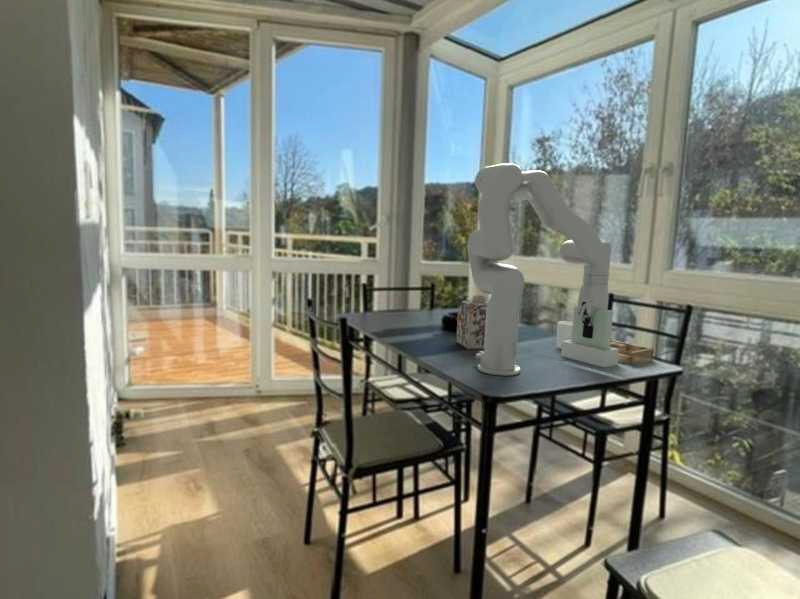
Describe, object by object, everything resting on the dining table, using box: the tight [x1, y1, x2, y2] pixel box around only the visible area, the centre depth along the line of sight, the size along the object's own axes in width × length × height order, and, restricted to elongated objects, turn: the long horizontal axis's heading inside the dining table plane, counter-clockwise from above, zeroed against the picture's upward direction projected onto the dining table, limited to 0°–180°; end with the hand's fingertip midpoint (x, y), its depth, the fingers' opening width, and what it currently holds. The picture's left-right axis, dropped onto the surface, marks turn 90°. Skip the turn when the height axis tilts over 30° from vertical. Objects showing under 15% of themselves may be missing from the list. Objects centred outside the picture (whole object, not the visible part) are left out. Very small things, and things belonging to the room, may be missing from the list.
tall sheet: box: [571, 304, 614, 350], centre depth 171 cm, size 12×3×15 cm, turn 36°
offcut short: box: [610, 342, 626, 352], centre depth 178 cm, size 5×3×2 cm, turn 36°
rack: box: [610, 339, 655, 366], centre depth 178 cm, size 18×12×5 cm, turn 36°
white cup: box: [556, 320, 573, 350], centre depth 189 cm, size 8×8×10 cm
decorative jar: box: [456, 294, 489, 350], centre depth 191 cm, size 12×12×18 cm
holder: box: [560, 340, 619, 368], centre depth 172 cm, size 16×7×6 cm, turn 36°
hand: (590, 336), depth 171 cm, fingers closed on tall sheet, 3 cm apart
